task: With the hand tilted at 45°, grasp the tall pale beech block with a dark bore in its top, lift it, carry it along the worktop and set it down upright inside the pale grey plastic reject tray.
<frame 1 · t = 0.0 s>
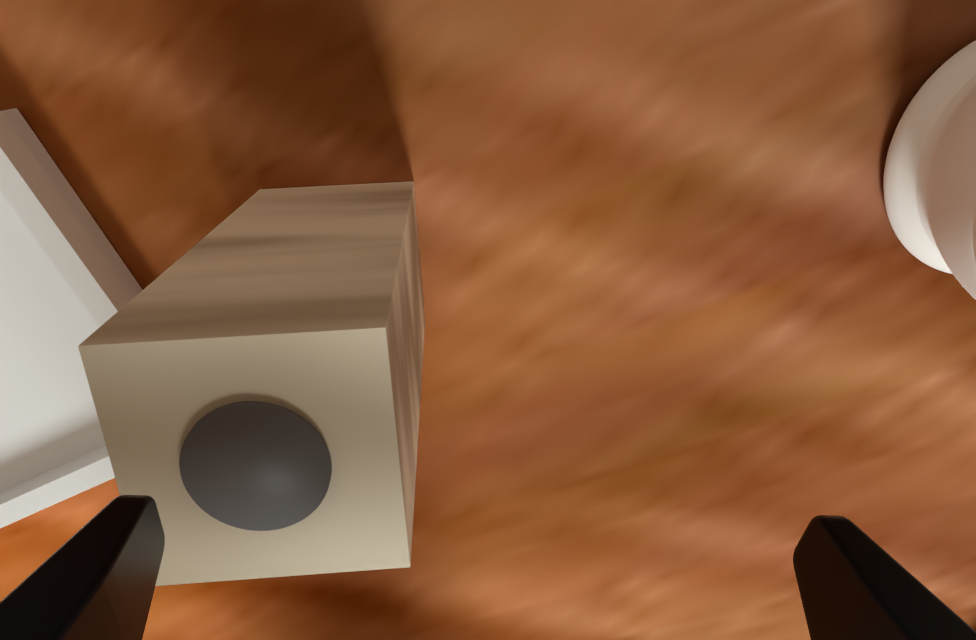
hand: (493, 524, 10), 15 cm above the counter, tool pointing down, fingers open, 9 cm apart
beech block: (346, 258, 24), on the counter
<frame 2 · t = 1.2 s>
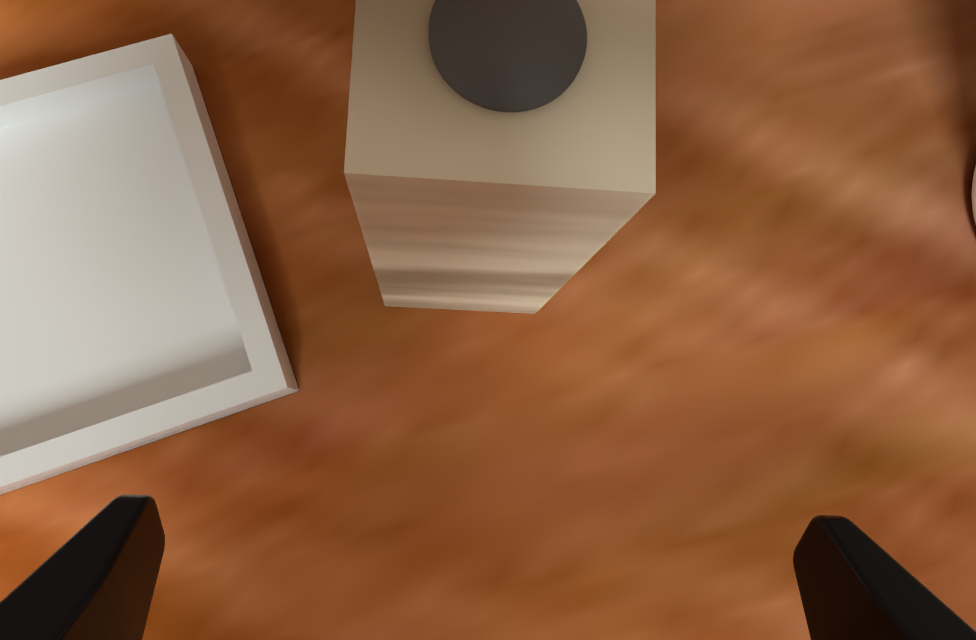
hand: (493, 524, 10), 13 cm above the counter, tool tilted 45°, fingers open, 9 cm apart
reject tray: (64, 279, 23), on the counter
beech block: (463, 236, 24), on the counter
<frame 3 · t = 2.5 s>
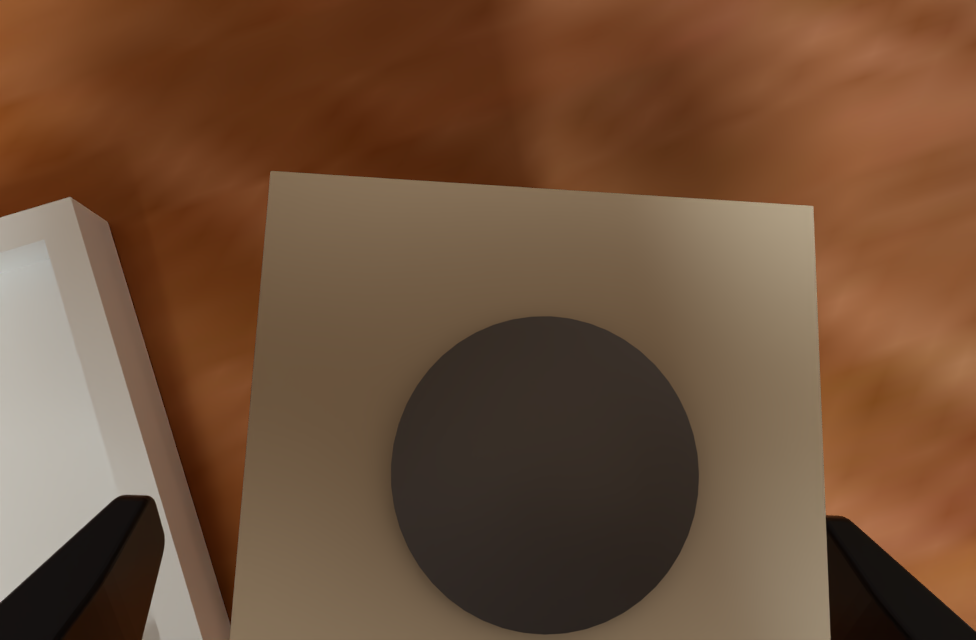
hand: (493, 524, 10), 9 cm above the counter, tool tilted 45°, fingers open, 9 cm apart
beech block: (462, 445, 18), on the counter
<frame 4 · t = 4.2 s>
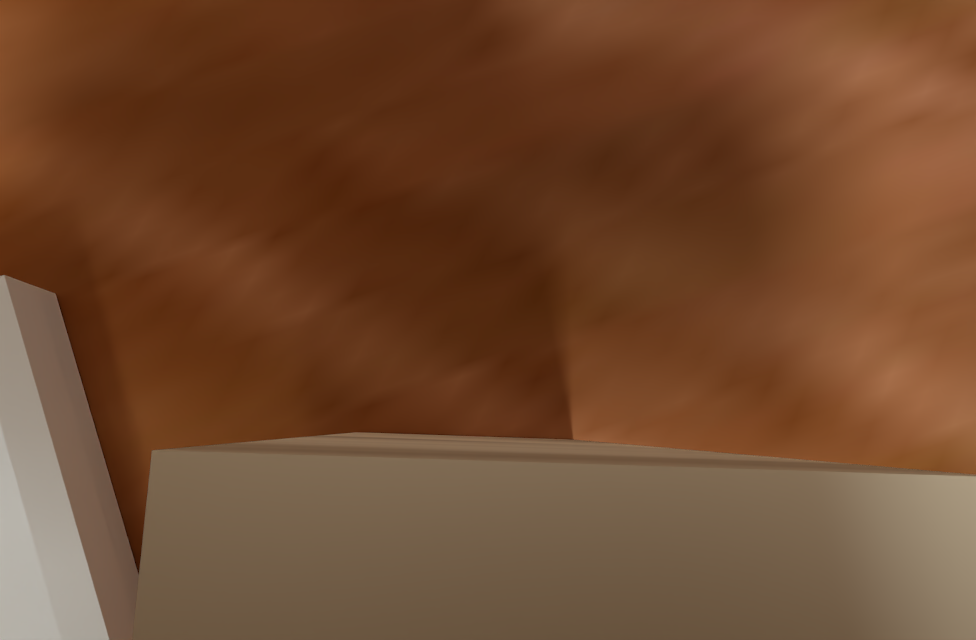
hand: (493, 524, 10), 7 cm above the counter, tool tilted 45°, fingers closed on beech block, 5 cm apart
beech block: (462, 548, 16), on the counter, touching gripper
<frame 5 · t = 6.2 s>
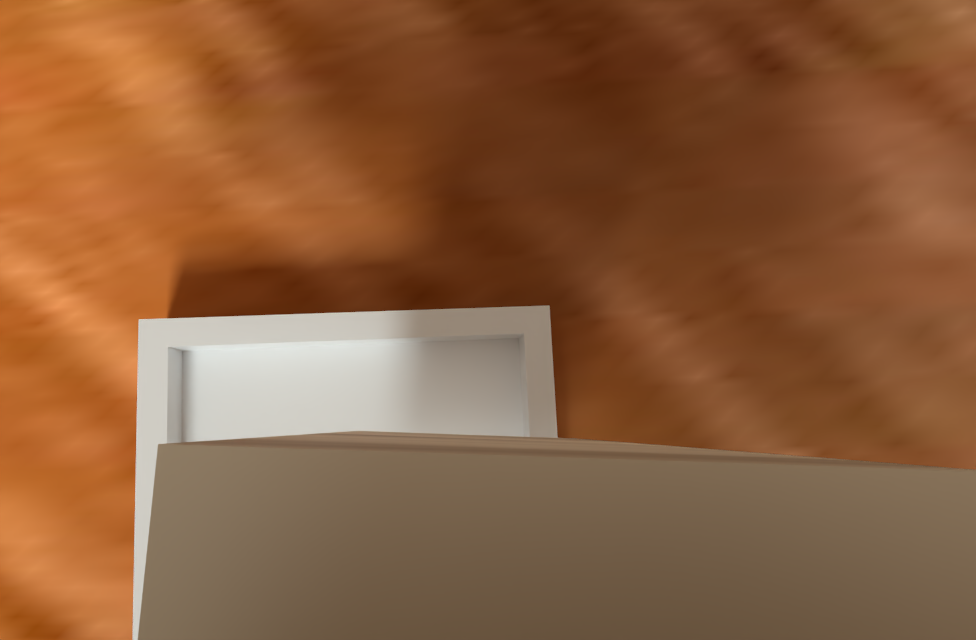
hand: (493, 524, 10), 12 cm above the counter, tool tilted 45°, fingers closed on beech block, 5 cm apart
reject tray: (360, 511, 22), on the counter
beech block: (463, 546, 16), point 6 cm above the counter, touching gripper
when the fingers open (8 cm above the counter, at t = 8.2 s): beech block drops 1 cm, resting on reject tray.
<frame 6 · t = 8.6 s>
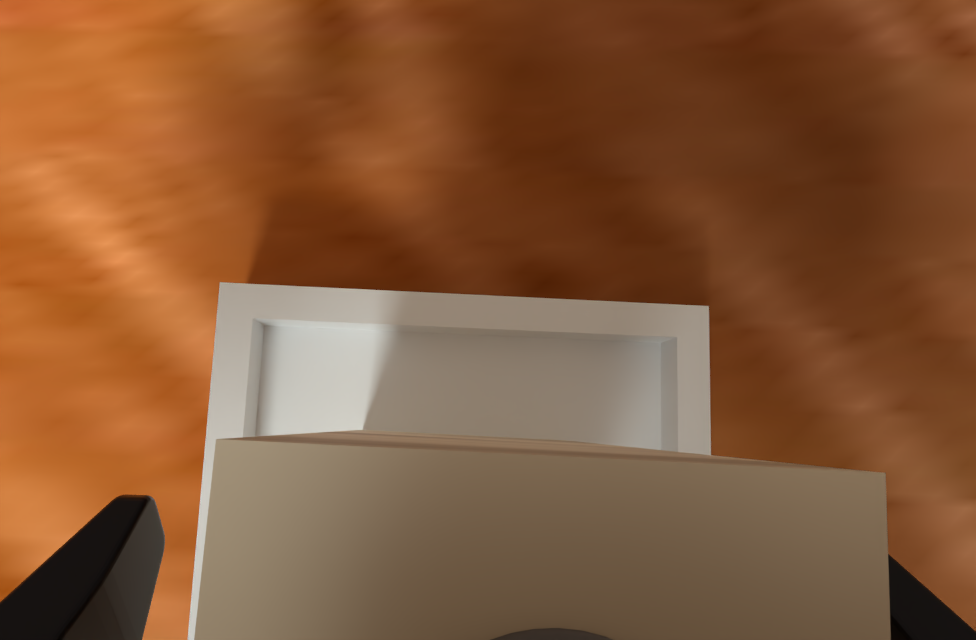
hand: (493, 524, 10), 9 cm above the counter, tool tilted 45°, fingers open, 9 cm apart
reject tray: (457, 534, 18), on the counter
beech block: (458, 539, 17), point 1 cm above the counter, touching reject tray
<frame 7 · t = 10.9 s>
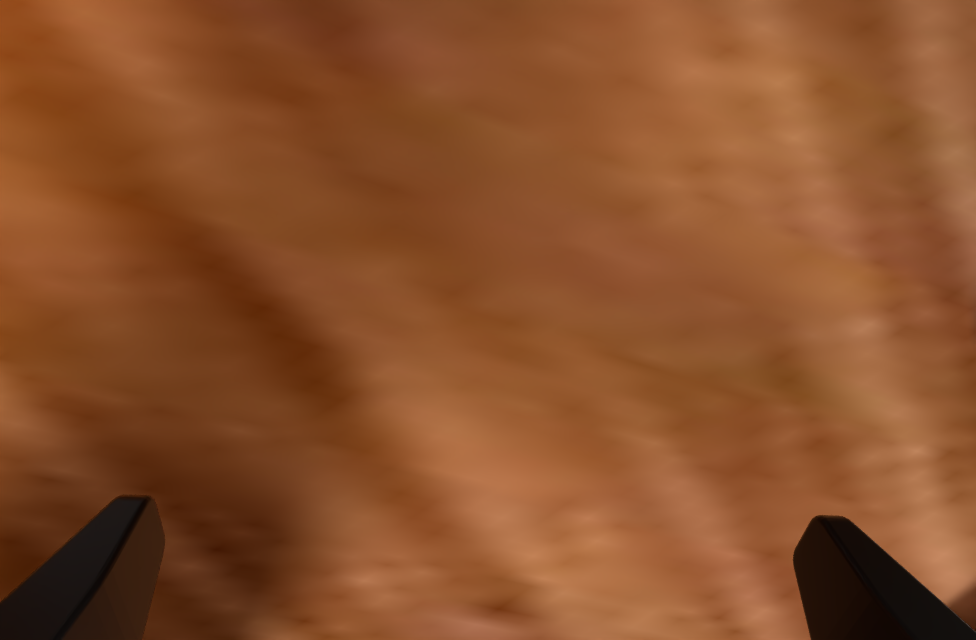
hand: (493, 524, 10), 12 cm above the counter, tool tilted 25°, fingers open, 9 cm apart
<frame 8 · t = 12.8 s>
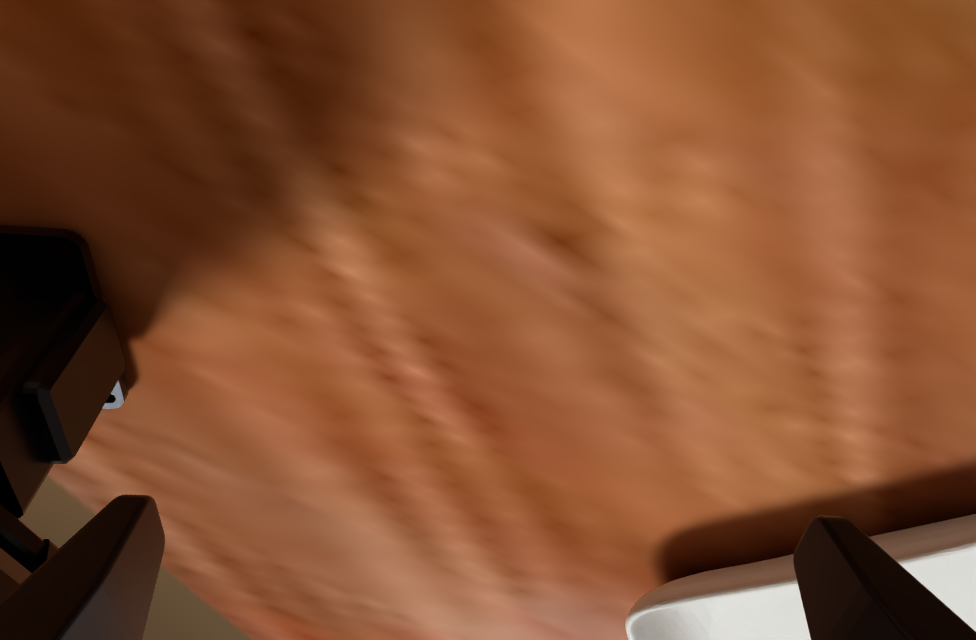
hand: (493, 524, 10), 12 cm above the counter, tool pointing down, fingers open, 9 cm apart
salad plate: (860, 621, 35), on the counter
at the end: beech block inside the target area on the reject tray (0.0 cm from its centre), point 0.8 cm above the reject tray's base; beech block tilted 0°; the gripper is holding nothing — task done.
